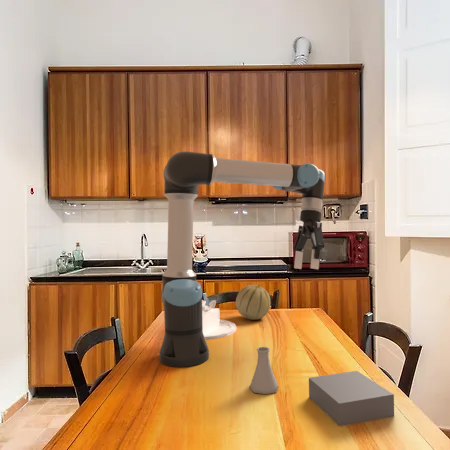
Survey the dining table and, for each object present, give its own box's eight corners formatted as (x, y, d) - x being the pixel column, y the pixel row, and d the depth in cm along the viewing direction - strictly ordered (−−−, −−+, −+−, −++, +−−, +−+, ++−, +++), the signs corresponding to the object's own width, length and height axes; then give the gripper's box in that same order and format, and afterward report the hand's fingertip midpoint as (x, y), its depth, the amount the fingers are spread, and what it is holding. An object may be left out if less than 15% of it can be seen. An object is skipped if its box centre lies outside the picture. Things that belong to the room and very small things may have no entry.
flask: (280, 395, 89) (279, 353, 89) (250, 395, 89) (249, 354, 89) (276, 382, 96) (276, 343, 96) (248, 382, 97) (248, 344, 96)
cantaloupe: (235, 315, 166) (234, 281, 165) (267, 314, 166) (266, 280, 166) (238, 324, 151) (237, 287, 151) (274, 323, 152) (273, 286, 152)
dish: (180, 321, 159) (179, 295, 159) (238, 322, 156) (238, 295, 156) (164, 340, 134) (163, 308, 134) (233, 340, 131) (232, 309, 131)
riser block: (339, 428, 75) (339, 403, 75) (309, 398, 88) (308, 377, 88) (394, 417, 79) (393, 394, 78) (357, 391, 91) (356, 370, 91)
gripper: (338, 207, 126) (332, 270, 123) (305, 217, 150) (300, 269, 147) (317, 204, 124) (311, 267, 121) (288, 214, 148) (282, 267, 145)
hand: (305, 268), depth 134 cm, fingers open, 13 cm apart
